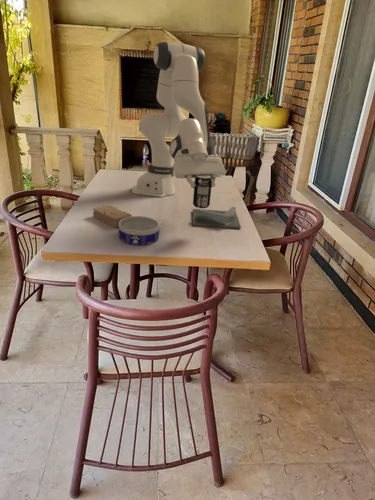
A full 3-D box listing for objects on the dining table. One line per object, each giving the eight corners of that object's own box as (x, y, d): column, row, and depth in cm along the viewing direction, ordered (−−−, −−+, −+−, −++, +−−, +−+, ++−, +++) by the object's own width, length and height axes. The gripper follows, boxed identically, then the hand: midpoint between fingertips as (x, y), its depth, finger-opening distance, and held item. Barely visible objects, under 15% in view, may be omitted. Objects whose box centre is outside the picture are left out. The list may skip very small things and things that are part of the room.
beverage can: (200, 202, 153) (203, 172, 147) (212, 206, 148) (215, 176, 143) (189, 205, 148) (191, 175, 143) (201, 209, 144) (204, 179, 139)
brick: (92, 217, 160) (91, 207, 158) (108, 213, 166) (108, 203, 164) (116, 229, 150) (116, 218, 148) (132, 225, 156) (132, 214, 154)
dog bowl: (160, 231, 152) (161, 217, 149) (157, 247, 138) (157, 232, 135) (122, 228, 151) (122, 214, 149) (115, 244, 138) (115, 229, 135)
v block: (192, 211, 175) (193, 200, 173) (235, 214, 176) (236, 203, 173) (193, 226, 159) (194, 214, 156) (240, 229, 159) (242, 217, 157)
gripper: (217, 159, 155) (224, 189, 151) (169, 159, 148) (176, 191, 144) (223, 150, 149) (231, 182, 145) (174, 150, 142) (180, 183, 138)
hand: (203, 186), depth 144 cm, fingers closed on beverage can, 7 cm apart
